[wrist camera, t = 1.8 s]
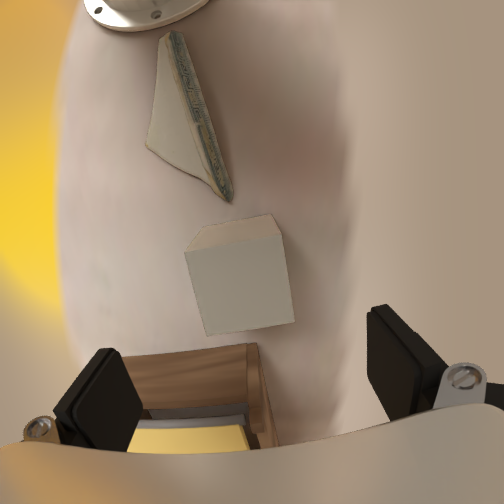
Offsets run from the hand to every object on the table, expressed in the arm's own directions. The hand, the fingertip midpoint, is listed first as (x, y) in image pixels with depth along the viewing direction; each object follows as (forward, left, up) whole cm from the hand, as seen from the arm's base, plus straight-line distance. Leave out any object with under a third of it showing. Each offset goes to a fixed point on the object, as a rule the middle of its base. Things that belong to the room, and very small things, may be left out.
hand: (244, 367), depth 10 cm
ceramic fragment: (-12, -2, -14) cm, 18 cm away
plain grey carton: (-1, 0, -13) cm, 13 cm away
